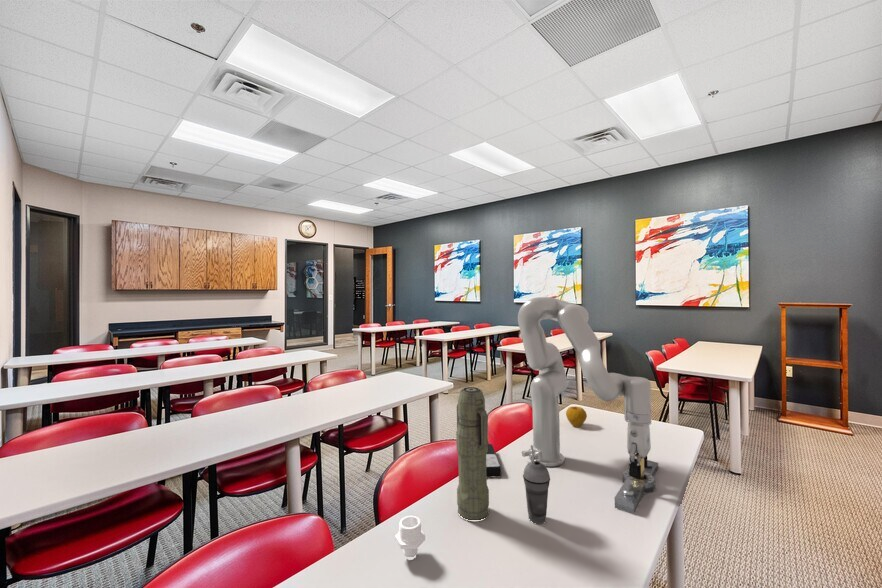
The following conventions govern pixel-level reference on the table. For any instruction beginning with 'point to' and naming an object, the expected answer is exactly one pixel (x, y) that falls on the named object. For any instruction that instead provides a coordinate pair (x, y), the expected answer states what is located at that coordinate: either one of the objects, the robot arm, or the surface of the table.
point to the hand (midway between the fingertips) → (638, 471)
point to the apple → (576, 416)
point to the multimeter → (492, 462)
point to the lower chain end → (651, 470)
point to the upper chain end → (632, 492)
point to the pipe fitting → (410, 535)
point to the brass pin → (641, 468)
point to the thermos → (472, 454)
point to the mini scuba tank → (536, 490)
